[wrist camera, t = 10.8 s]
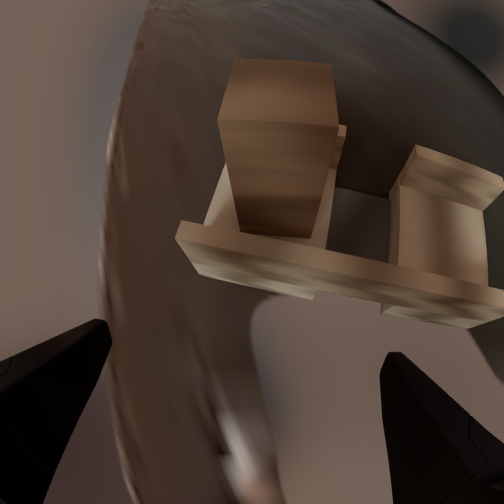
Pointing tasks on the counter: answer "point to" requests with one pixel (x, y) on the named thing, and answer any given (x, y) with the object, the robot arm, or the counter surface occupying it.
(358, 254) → the tunnel deck
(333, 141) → the walnut block
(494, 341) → the counter surface
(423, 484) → the robot arm
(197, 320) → the counter surface
